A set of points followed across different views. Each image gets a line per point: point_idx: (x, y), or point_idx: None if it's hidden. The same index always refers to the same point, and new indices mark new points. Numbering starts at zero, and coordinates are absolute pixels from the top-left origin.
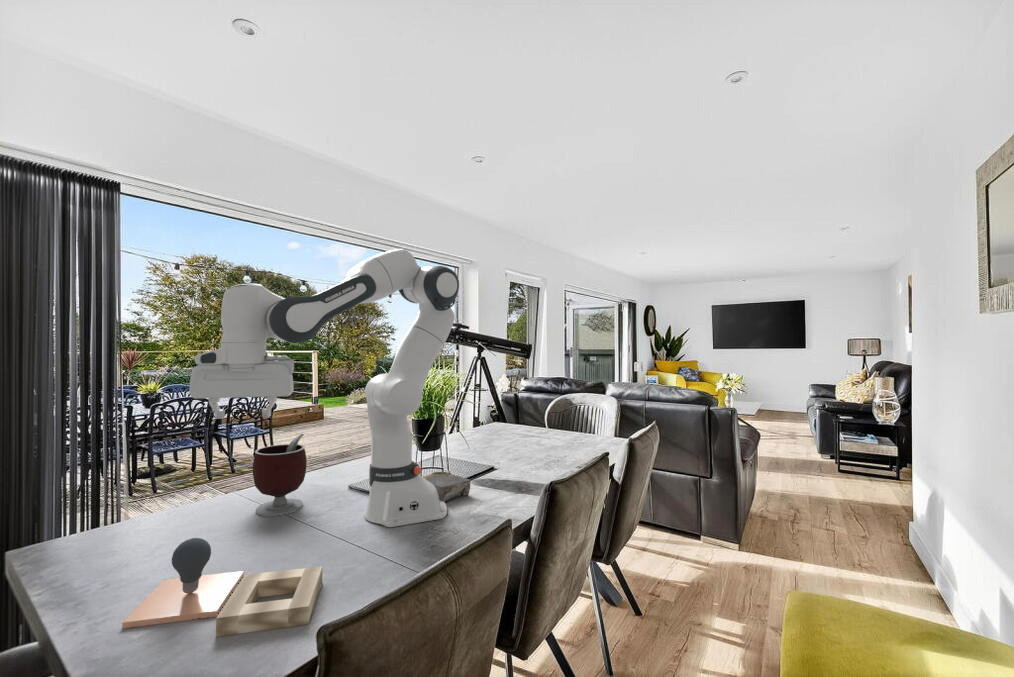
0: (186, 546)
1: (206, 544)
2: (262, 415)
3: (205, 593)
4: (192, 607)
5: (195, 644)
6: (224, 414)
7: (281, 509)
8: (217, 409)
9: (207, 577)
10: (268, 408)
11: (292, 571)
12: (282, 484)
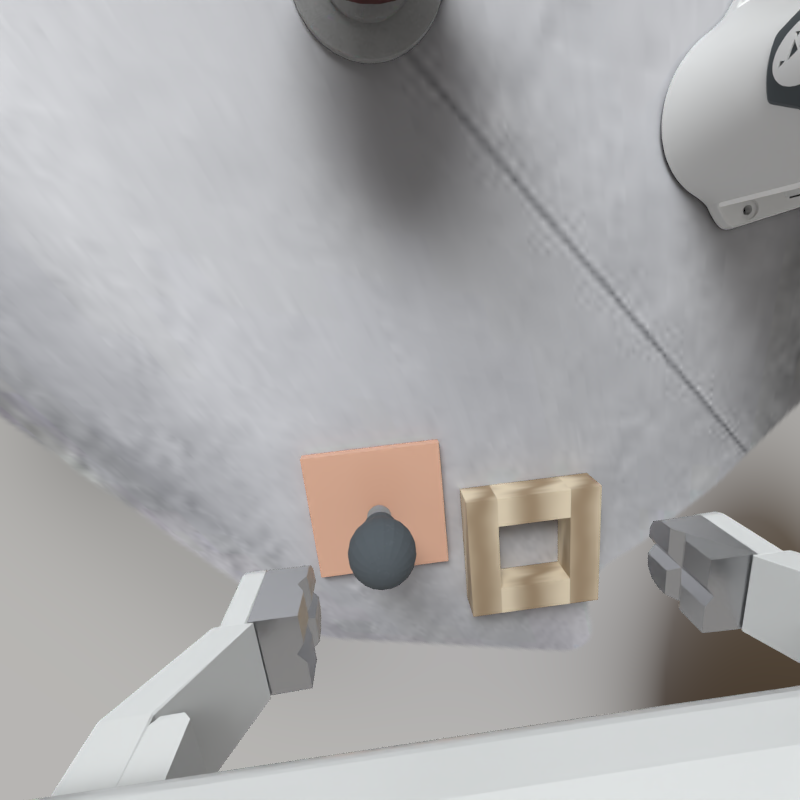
0: (382, 588)
1: (410, 561)
2: (663, 586)
3: (405, 513)
4: None
5: (447, 608)
6: (307, 584)
7: (387, 17)
8: (258, 699)
9: (379, 459)
10: (773, 632)
11: (550, 499)
12: None
